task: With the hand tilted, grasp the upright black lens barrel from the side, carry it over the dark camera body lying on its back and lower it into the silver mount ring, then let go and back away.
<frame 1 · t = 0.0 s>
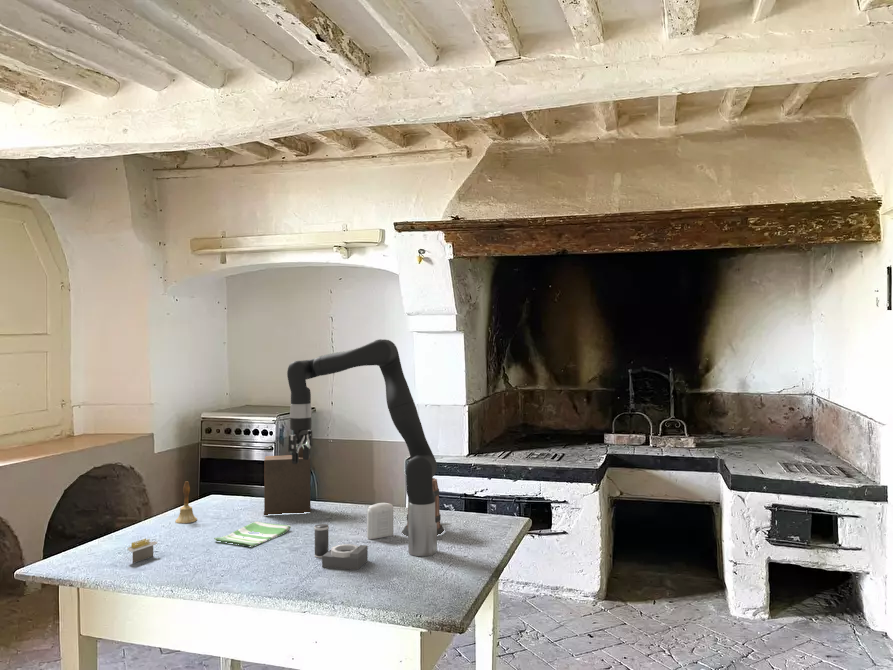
hand: (300, 461, 234), 29 cm above the table, tool pointing down, fingers open, 8 cm apart
brown box with post: (289, 512, 278), on the table
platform: (141, 561, 216), on the table
dish towel: (254, 538, 242), on the table
photo printer: (380, 537, 241), on the table
camera body: (345, 563, 211), on the table
tankard: (426, 530, 250), on the table
lens: (321, 555, 219), on the table
hand bell: (186, 521, 264), on the table
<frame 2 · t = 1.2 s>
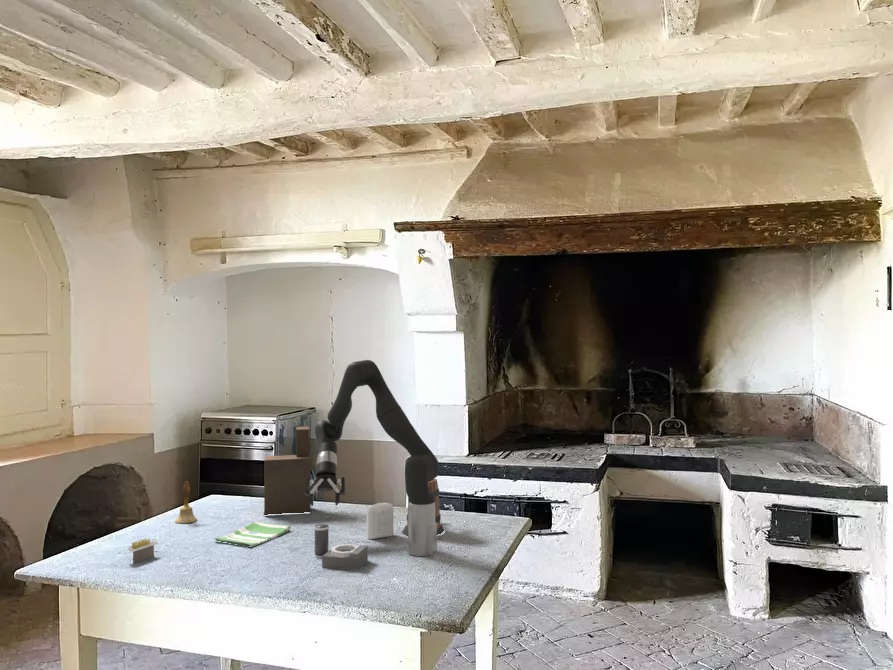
hand: (324, 504, 231), 14 cm above the table, tool tilted 45°, fingers open, 8 cm apart
nothing on the table moved.
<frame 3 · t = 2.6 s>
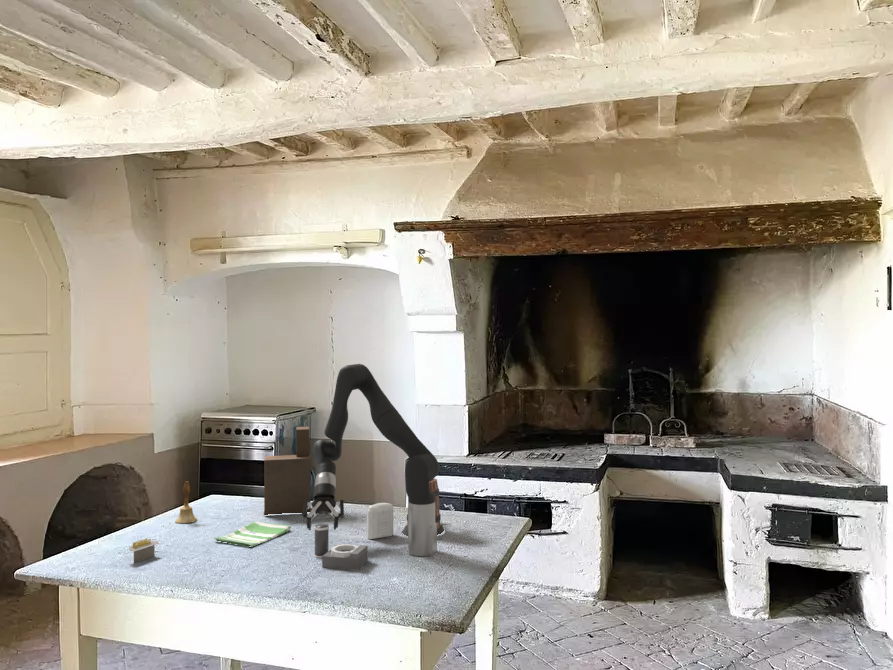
hand: (322, 528, 223), 8 cm above the table, tool tilted 45°, fingers open, 8 cm apart
nothing on the table moved.
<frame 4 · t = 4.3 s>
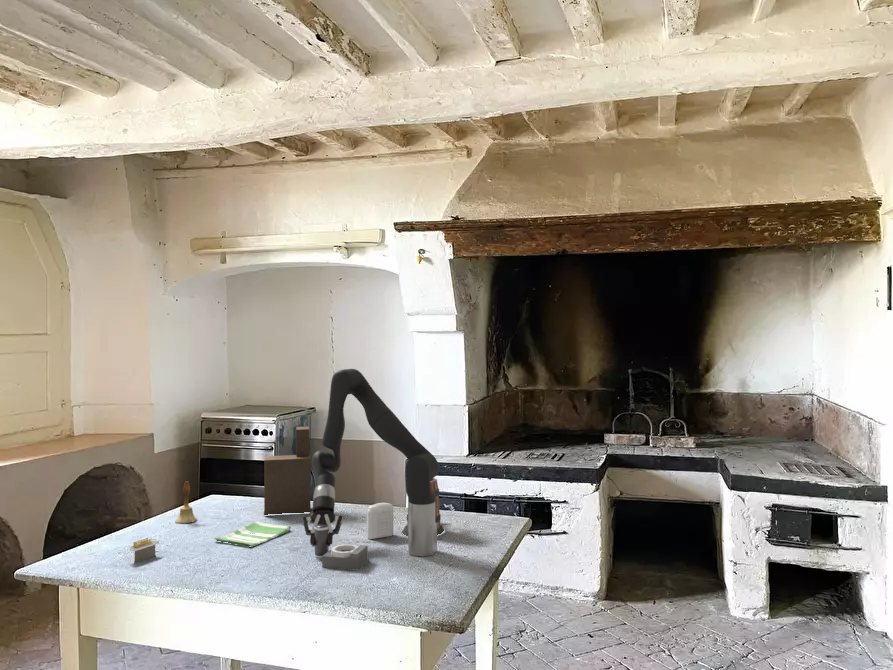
hand: (321, 545, 218), 4 cm above the table, tool tilted 45°, fingers closed on lens, 4 cm apart
lens: (321, 555, 219), on the table, touching gripper
everything else where it was.
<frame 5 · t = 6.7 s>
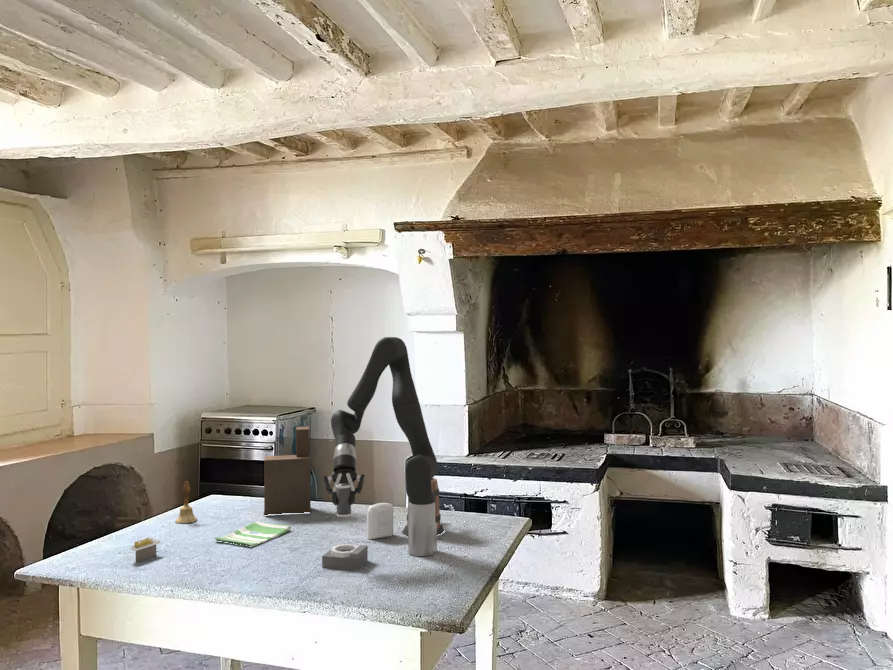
hand: (343, 503, 210), 20 cm above the table, tool tilted 45°, fingers closed on lens, 4 cm apart
lens: (344, 514, 212), point 16 cm above the table, touching gripper
when the fingers open (9 cm above the table, at t = 9.4 s): lens stays where it is, resting on camera body.
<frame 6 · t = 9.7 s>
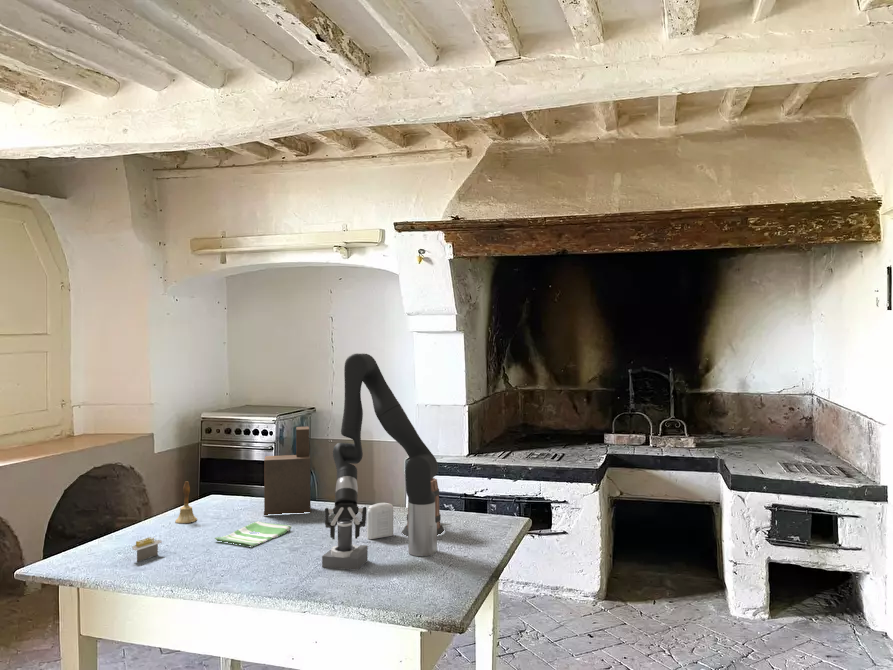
hand: (344, 537, 210), 9 cm above the table, tool tilted 45°, fingers open, 6 cm apart
lens: (344, 552, 211), point 4 cm above the table, touching camera body
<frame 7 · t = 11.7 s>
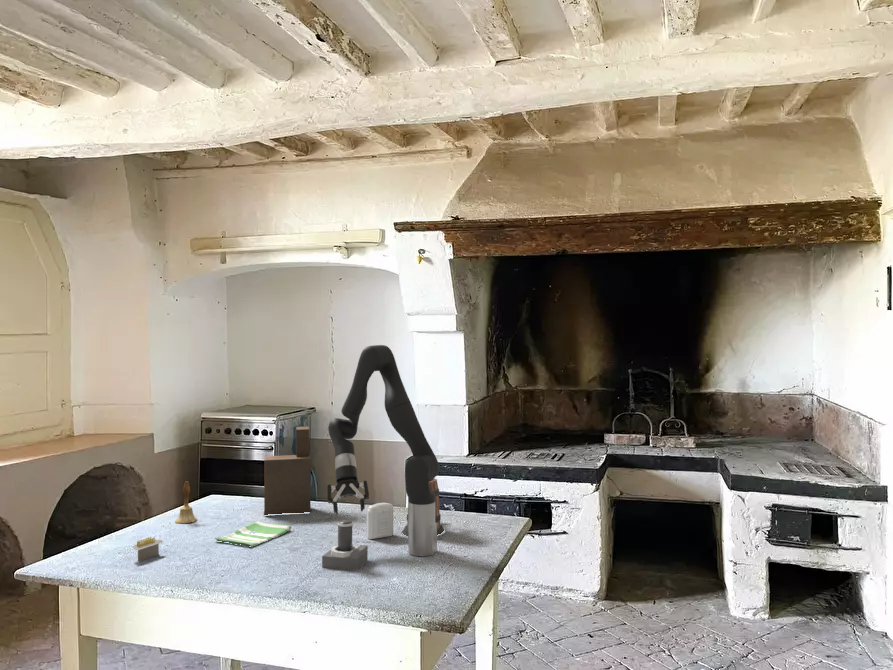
hand: (349, 512, 224), 14 cm above the table, tool tilted 35°, fingers open, 8 cm apart
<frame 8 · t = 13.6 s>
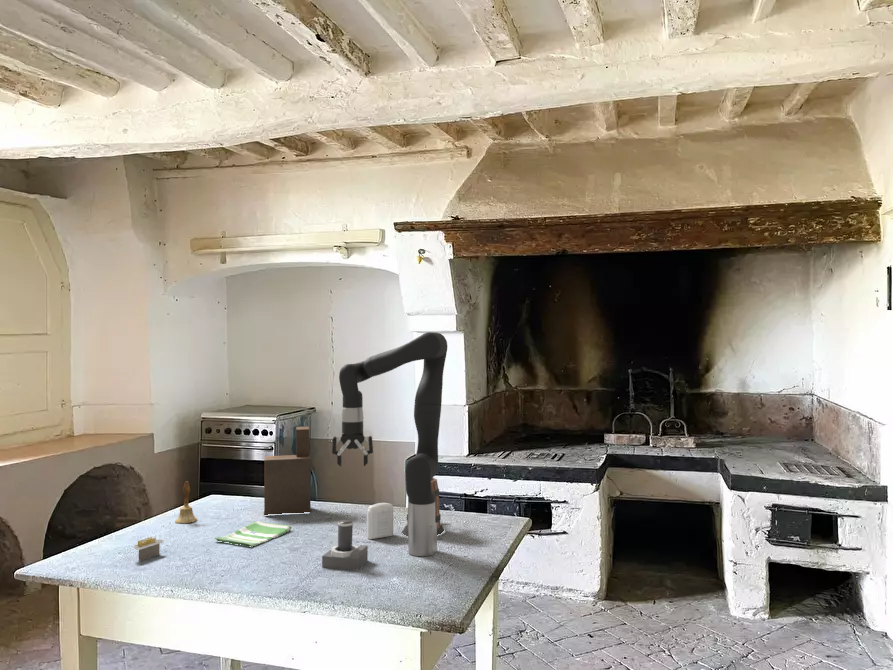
hand: (352, 465, 231), 28 cm above the table, tool pointing down, fingers open, 8 cm apart
at the end: lens 0.1 cm off-centre on the camera body, point 3.6 cm above the camera body's base; lens tilted 1°; the gripper is holding nothing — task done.
